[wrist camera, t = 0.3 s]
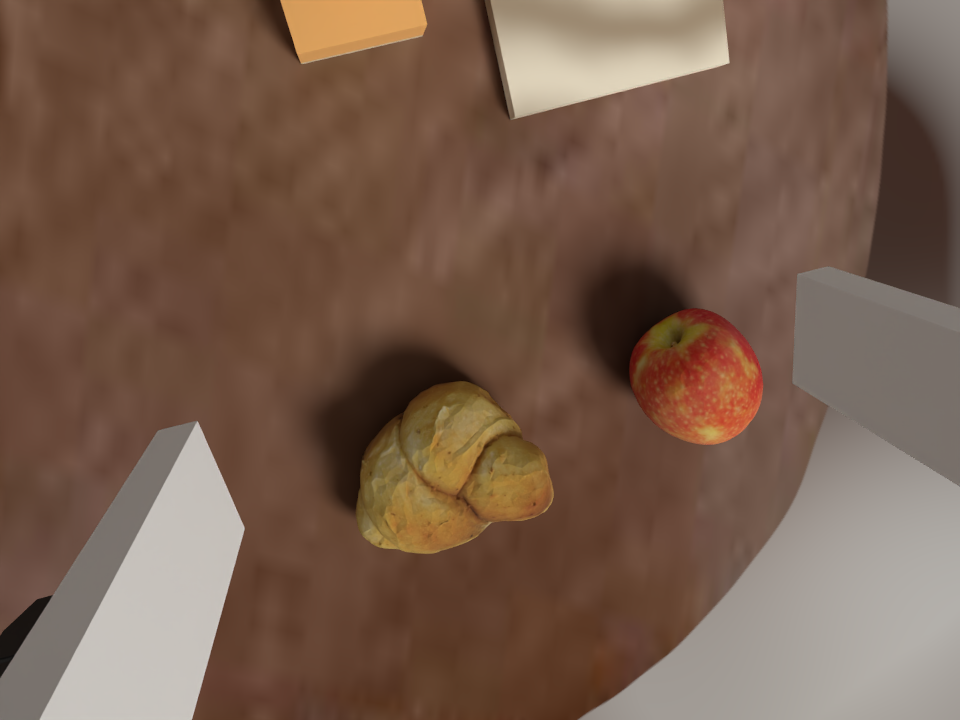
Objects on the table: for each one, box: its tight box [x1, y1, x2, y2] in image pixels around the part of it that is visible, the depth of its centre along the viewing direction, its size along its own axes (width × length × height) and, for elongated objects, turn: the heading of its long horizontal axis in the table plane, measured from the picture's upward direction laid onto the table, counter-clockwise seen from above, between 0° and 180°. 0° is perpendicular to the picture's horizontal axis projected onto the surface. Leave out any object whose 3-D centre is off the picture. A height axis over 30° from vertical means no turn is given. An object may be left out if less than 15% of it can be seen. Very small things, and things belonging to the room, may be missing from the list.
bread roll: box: [356, 381, 554, 554], centre depth 37 cm, size 13×10×8 cm
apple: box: [629, 308, 763, 445], centre depth 39 cm, size 8×8×8 cm
